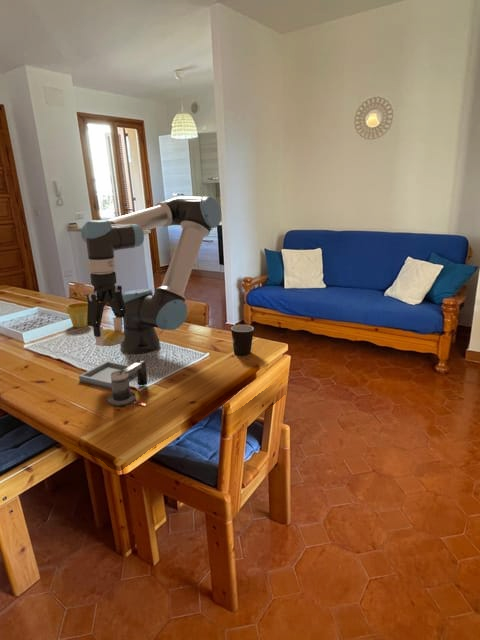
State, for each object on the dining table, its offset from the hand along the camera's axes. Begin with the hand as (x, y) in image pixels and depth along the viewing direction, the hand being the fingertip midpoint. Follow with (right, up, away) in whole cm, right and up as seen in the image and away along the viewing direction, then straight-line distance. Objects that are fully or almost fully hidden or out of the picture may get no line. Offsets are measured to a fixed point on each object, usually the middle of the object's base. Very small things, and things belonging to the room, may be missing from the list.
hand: (110, 340), depth 134 cm
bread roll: (0, -1, 0) cm, 1 cm away
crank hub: (+9, -17, -12) cm, 23 cm away
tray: (-1, -12, +4) cm, 13 cm away
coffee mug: (+43, -6, +27) cm, 51 cm away
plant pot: (-31, +4, +57) cm, 65 cm away
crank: (+9, -15, -7) cm, 19 cm away
